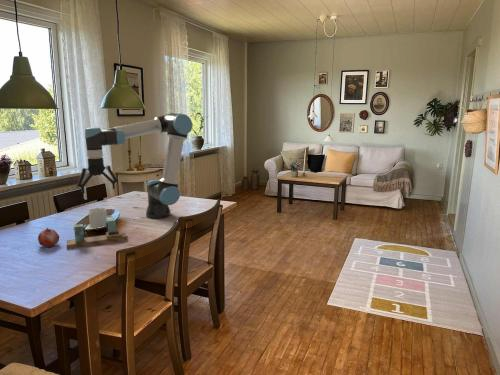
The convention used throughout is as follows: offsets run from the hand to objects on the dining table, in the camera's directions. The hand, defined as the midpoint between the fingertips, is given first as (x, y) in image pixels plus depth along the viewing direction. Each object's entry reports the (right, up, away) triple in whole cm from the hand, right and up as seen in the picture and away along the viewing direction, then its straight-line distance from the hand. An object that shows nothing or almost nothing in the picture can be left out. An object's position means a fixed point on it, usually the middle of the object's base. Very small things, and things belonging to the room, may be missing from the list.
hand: (99, 197), depth 196 cm
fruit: (-20, -24, -13) cm, 33 cm away
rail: (+3, -23, -8) cm, 24 cm away
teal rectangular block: (+5, -20, +4) cm, 21 cm away
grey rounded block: (-5, -18, +13) cm, 23 cm away
